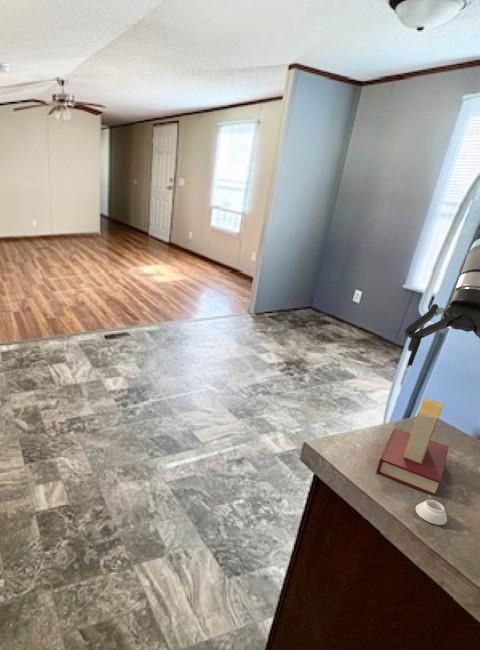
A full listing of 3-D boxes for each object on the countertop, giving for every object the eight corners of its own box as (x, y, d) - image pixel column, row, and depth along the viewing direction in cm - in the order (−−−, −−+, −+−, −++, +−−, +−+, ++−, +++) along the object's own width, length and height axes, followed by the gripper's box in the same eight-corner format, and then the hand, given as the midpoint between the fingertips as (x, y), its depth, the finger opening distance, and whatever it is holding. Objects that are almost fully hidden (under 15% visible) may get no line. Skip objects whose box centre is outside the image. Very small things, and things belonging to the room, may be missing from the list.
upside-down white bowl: (435, 529, 82) (451, 521, 83) (440, 518, 80) (456, 510, 82) (409, 511, 86) (424, 503, 88) (413, 500, 85) (429, 493, 86)
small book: (427, 447, 98) (443, 403, 94) (421, 464, 93) (438, 418, 88) (409, 441, 101) (424, 397, 96) (402, 457, 95) (418, 412, 91)
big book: (389, 440, 107) (393, 427, 106) (443, 460, 100) (449, 446, 99) (375, 472, 96) (380, 458, 95) (435, 496, 90) (441, 481, 88)
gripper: (540, 315, 97) (513, 397, 93) (410, 293, 112) (382, 362, 108) (551, 298, 91) (523, 385, 87) (412, 277, 107) (383, 349, 102)
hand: (445, 372), depth 98 cm, fingers open, 13 cm apart
